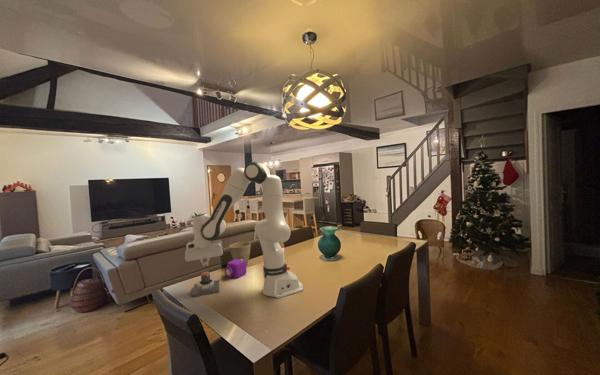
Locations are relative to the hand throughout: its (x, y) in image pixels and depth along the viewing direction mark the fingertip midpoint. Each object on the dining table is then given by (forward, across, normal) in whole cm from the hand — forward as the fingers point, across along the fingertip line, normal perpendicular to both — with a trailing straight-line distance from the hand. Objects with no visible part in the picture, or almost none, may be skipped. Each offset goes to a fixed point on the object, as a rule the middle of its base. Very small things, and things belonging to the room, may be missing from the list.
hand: (205, 265), depth 140 cm
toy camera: (+15, -16, -13) cm, 25 cm away
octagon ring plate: (+14, +1, 0) cm, 14 cm away
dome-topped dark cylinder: (+12, +1, 0) cm, 12 cm away
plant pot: (+15, -21, -30) cm, 40 cm away
